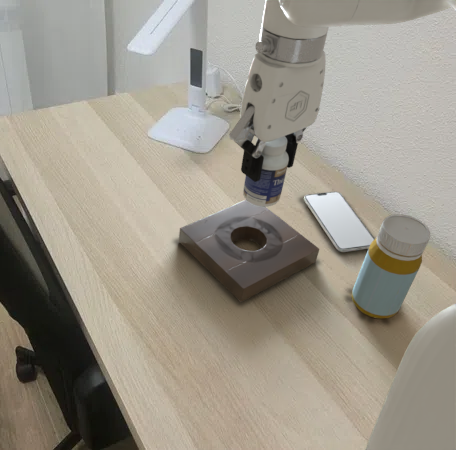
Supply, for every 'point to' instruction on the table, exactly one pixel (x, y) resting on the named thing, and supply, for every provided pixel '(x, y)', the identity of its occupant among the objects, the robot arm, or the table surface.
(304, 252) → the socket board
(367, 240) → the smartphone
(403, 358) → the robot arm
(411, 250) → the bottle
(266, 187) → the pill bottle
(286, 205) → the table surface
